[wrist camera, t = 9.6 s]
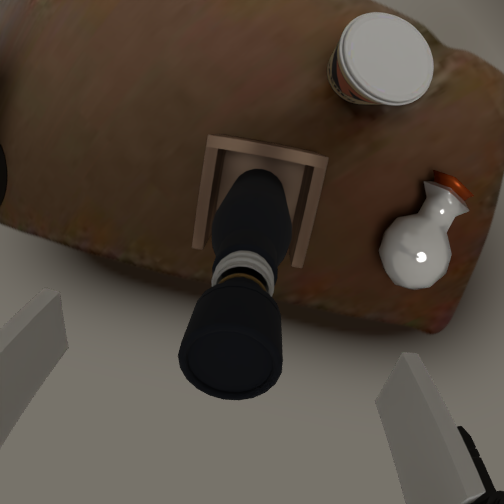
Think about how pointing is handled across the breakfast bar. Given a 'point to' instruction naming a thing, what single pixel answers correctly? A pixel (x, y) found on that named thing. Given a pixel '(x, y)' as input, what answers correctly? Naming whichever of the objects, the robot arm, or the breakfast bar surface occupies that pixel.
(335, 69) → the coffee cup
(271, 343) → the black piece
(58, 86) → the breakfast bar surface
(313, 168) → the u rest
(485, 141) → the breakfast bar surface
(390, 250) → the potion bottle
